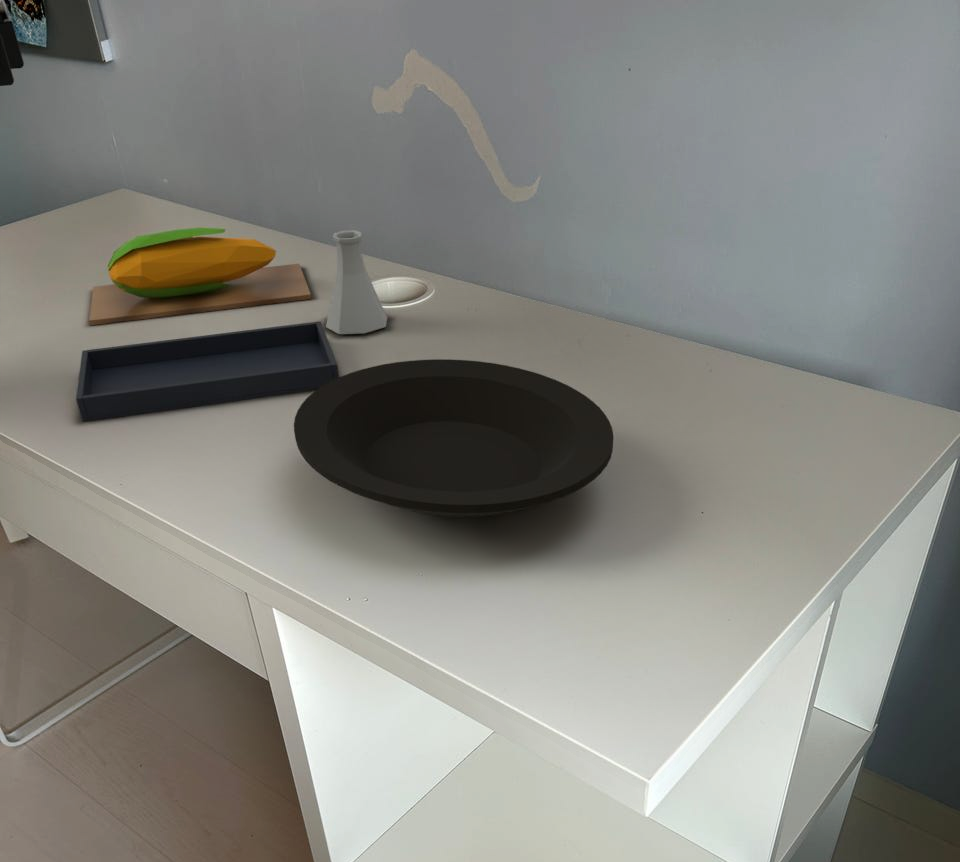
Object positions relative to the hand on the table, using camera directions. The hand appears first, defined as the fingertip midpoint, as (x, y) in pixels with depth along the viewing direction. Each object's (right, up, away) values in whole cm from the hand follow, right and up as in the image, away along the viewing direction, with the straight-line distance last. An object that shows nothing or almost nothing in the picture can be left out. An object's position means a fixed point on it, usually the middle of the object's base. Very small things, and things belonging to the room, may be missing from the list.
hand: (2, 76), depth 95 cm
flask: (+32, -19, +18) cm, 41 cm away
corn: (+12, -11, +26) cm, 31 cm away
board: (+12, -12, +27) cm, 31 cm away
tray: (+18, -27, +7) cm, 34 cm away
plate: (+44, -41, -11) cm, 61 cm away
